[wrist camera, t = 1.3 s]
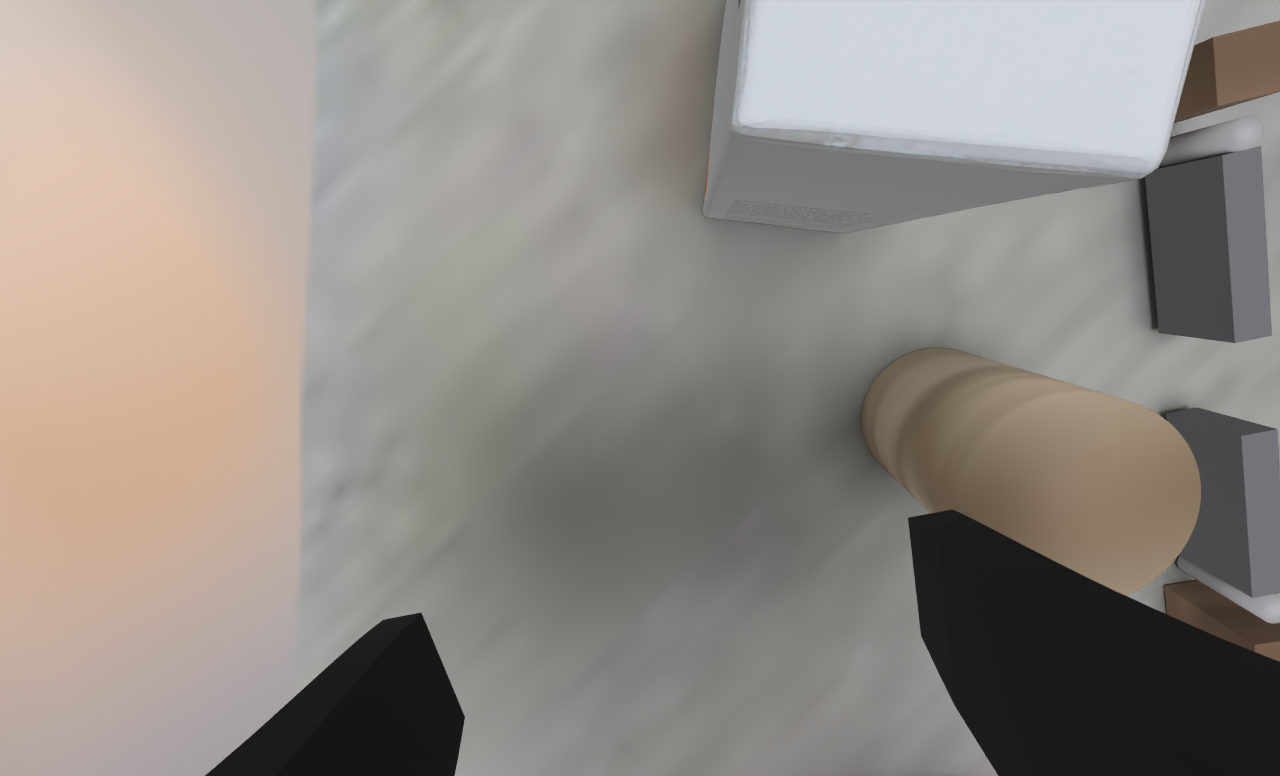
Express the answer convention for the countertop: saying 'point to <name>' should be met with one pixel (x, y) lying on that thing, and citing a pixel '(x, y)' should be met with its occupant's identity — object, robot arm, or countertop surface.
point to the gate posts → (1211, 83)
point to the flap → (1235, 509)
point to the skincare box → (936, 104)
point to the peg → (1037, 462)
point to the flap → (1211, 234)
